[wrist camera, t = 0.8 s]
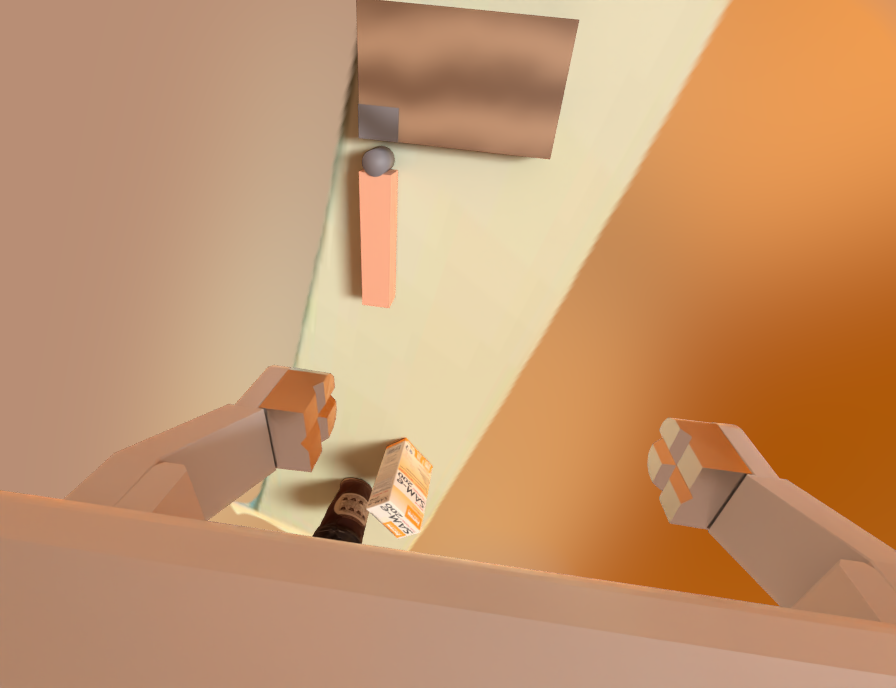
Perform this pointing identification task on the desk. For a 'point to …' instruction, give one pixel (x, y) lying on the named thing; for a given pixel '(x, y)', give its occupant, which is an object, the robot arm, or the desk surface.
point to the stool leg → (378, 226)
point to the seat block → (461, 77)
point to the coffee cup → (347, 513)
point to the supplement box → (401, 489)
